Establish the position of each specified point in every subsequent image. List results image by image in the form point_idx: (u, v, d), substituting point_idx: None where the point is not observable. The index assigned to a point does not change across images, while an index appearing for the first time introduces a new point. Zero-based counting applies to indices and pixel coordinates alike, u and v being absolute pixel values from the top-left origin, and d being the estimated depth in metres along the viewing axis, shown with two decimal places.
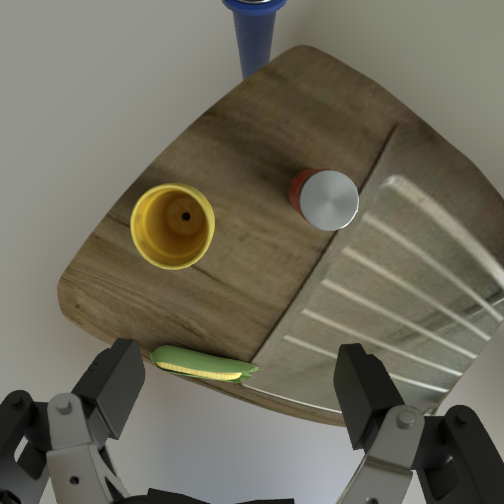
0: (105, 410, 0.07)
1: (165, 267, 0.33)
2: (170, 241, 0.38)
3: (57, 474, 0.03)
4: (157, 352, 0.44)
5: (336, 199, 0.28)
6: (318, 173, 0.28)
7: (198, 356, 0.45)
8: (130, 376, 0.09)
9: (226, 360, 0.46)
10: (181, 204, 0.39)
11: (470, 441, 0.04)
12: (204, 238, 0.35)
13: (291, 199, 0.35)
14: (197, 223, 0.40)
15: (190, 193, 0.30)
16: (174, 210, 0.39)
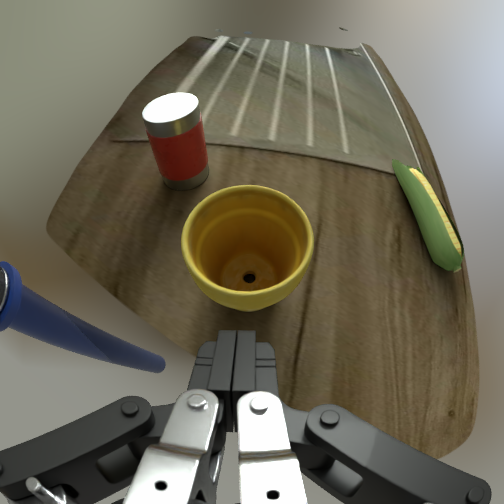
0: (230, 402, 0.08)
1: (308, 226, 0.22)
2: (284, 273, 0.26)
3: (145, 472, 0.04)
4: (447, 260, 0.28)
5: (167, 104, 0.27)
6: (146, 119, 0.26)
7: (420, 214, 0.31)
8: None
9: (405, 187, 0.34)
10: (234, 287, 0.28)
11: (352, 440, 0.05)
12: (255, 211, 0.26)
13: (189, 163, 0.32)
14: (253, 260, 0.30)
15: (189, 219, 0.22)
16: None
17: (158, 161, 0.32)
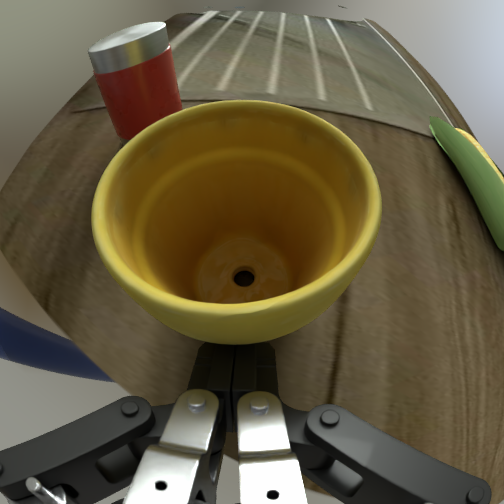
0: (230, 402, 0.08)
1: (363, 158, 0.09)
2: (309, 265, 0.14)
3: (145, 472, 0.04)
4: None
5: (123, 34, 0.15)
6: (90, 51, 0.14)
7: (477, 183, 0.19)
8: None
9: (451, 150, 0.22)
10: (217, 295, 0.16)
11: (352, 440, 0.05)
12: (250, 153, 0.14)
13: (151, 111, 0.19)
14: (250, 248, 0.18)
15: (119, 156, 0.10)
16: None
17: (110, 113, 0.19)
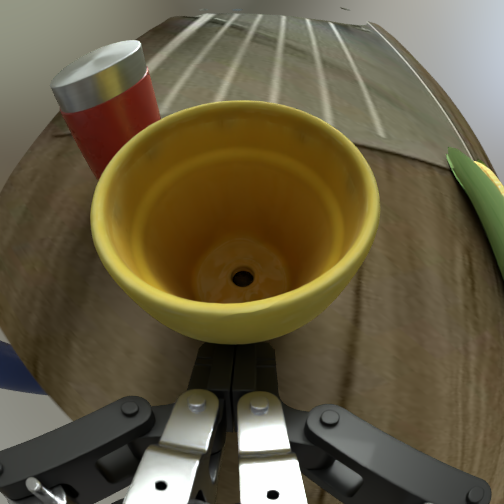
0: (230, 402, 0.08)
1: (360, 157, 0.10)
2: (308, 265, 0.14)
3: (145, 472, 0.04)
4: None
5: (92, 58, 0.12)
6: (52, 85, 0.11)
7: (497, 231, 0.17)
8: None
9: (471, 189, 0.19)
10: (217, 295, 0.16)
11: (352, 440, 0.05)
12: (248, 154, 0.14)
13: None
14: (249, 249, 0.18)
15: (117, 157, 0.10)
16: None
17: (84, 156, 0.17)
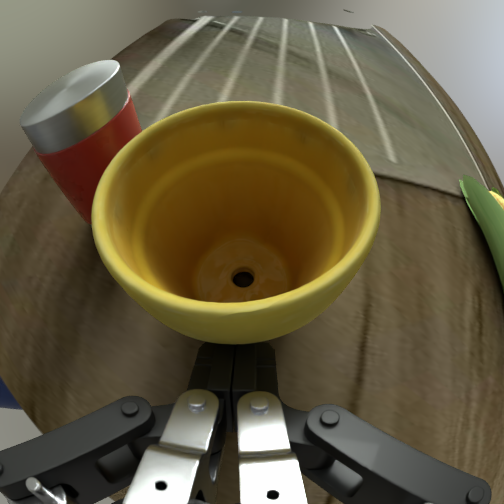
0: (230, 402, 0.08)
1: (361, 158, 0.10)
2: (308, 265, 0.14)
3: (145, 472, 0.04)
4: None
5: (65, 85, 0.11)
6: (21, 121, 0.09)
7: None
8: None
9: (485, 223, 0.18)
10: (217, 296, 0.16)
11: (352, 440, 0.05)
12: (249, 154, 0.14)
13: None
14: (249, 249, 0.18)
15: (118, 157, 0.10)
16: None
17: (65, 195, 0.15)
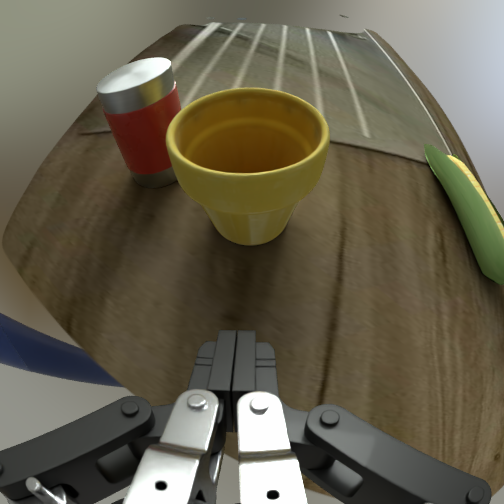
0: (230, 401, 0.08)
1: (321, 117, 0.16)
2: None
3: (145, 472, 0.04)
4: (502, 272, 0.18)
5: (130, 71, 0.18)
6: (99, 91, 0.17)
7: (466, 212, 0.22)
8: None
9: (443, 178, 0.24)
10: None
11: (352, 440, 0.05)
12: (255, 121, 0.20)
13: (160, 149, 0.22)
14: None
15: (178, 116, 0.17)
16: None
17: (121, 149, 0.22)
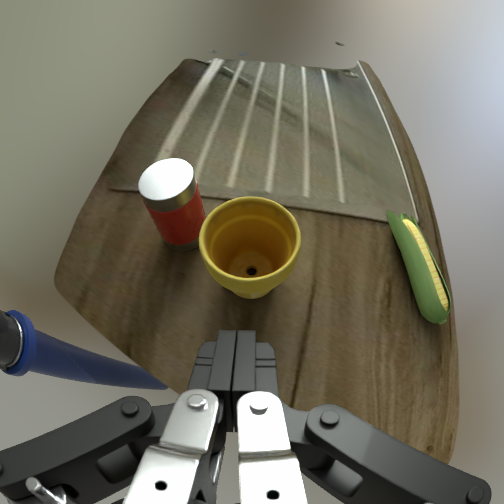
0: (230, 402, 0.08)
1: (297, 227, 0.28)
2: (280, 266, 0.33)
3: (145, 472, 0.04)
4: (434, 316, 0.30)
5: (162, 174, 0.30)
6: (142, 194, 0.28)
7: (411, 269, 0.34)
8: None
9: (398, 240, 0.36)
10: None
11: (352, 440, 0.05)
12: (255, 217, 0.32)
13: (188, 231, 0.34)
14: (254, 257, 0.36)
15: (204, 225, 0.29)
16: None
17: (158, 228, 0.34)
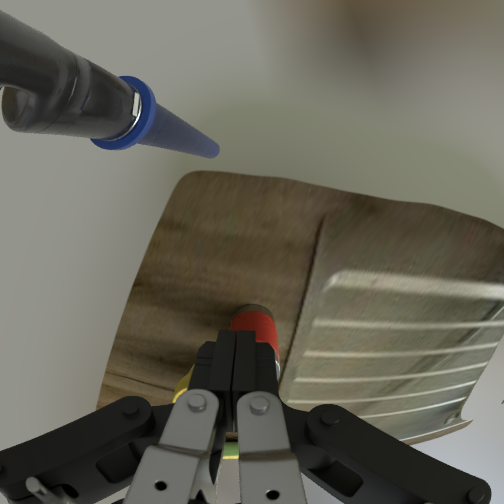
0: (230, 402, 0.08)
1: None
2: None
3: (145, 472, 0.04)
4: None
5: None
6: None
7: None
8: None
9: None
10: None
11: (352, 440, 0.05)
12: None
13: None
14: None
15: None
16: None
17: (233, 328, 0.36)
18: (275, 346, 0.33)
